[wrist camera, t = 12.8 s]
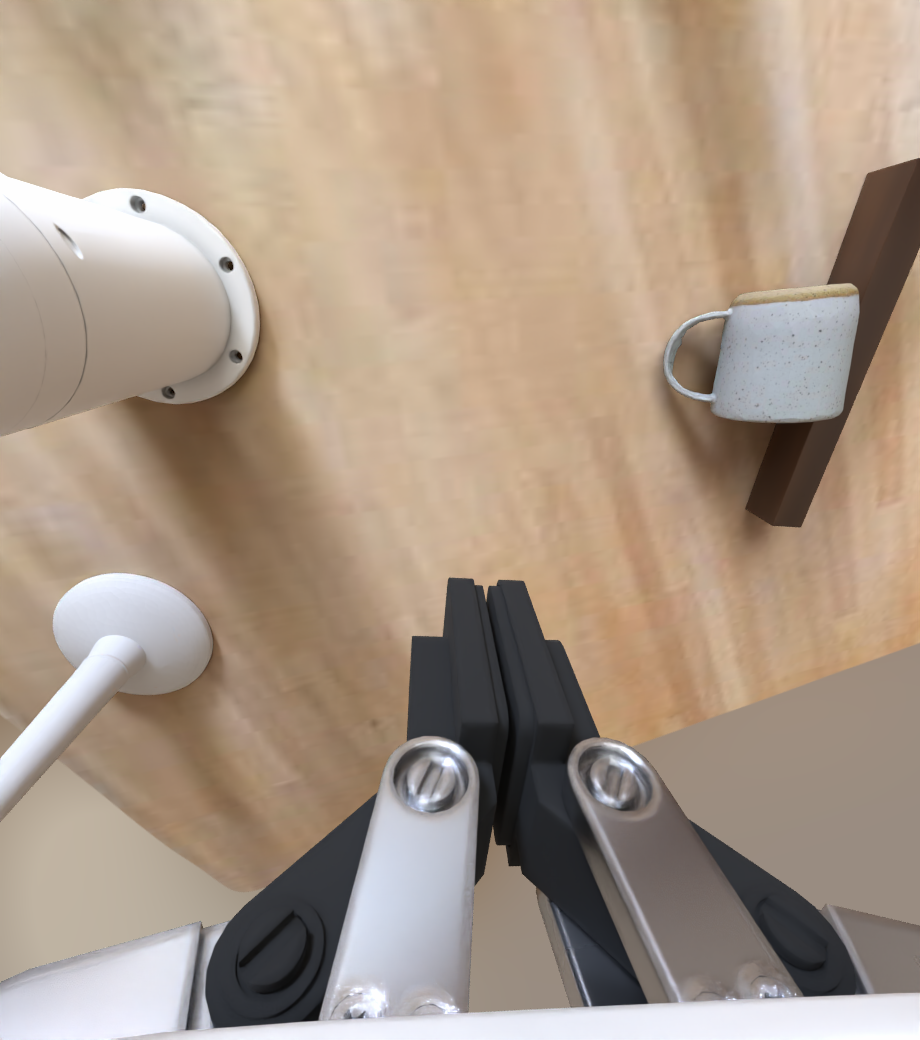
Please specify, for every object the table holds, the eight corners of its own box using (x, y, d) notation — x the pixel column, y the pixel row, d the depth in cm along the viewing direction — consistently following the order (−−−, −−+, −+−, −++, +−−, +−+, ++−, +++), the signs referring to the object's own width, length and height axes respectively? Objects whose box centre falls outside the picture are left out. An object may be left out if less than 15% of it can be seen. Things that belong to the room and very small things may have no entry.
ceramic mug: (809, 282, 33) (908, 276, 26) (787, 399, 37) (870, 421, 30) (660, 299, 33) (720, 297, 26) (652, 414, 37) (703, 440, 30)
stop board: (745, 508, 41) (772, 526, 37) (867, 172, 31) (918, 157, 28) (771, 510, 41) (801, 527, 38) (901, 177, 31) (956, 163, 28)
